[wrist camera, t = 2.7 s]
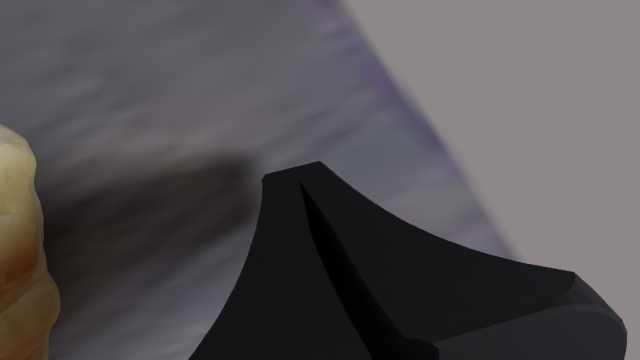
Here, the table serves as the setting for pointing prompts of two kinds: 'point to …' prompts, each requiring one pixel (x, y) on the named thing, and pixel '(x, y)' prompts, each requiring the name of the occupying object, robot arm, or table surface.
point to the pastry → (23, 257)
